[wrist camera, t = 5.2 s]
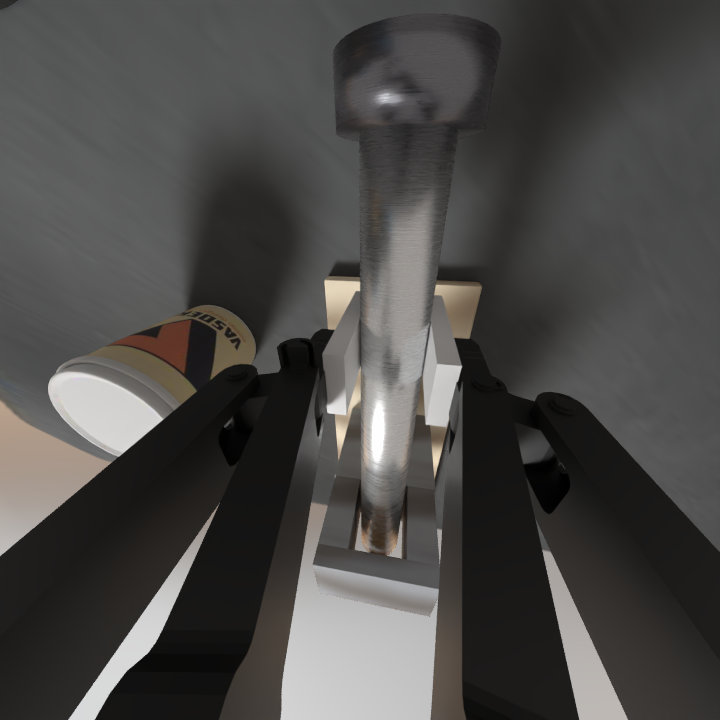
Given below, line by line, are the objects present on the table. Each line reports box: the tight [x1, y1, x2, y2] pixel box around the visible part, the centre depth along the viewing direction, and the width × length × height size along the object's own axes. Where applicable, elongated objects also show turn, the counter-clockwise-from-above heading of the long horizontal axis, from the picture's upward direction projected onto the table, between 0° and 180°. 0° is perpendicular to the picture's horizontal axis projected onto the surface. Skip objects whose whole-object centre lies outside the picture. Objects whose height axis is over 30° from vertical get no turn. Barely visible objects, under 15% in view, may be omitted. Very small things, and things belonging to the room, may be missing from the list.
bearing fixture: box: [313, 276, 482, 616], centre depth 24 cm, size 32×12×15 cm, turn 0°
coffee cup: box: [48, 305, 256, 457], centre depth 23 cm, size 9×9×12 cm
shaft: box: [333, 14, 501, 556], centre depth 15 cm, size 28×4×4 cm, turn 0°
